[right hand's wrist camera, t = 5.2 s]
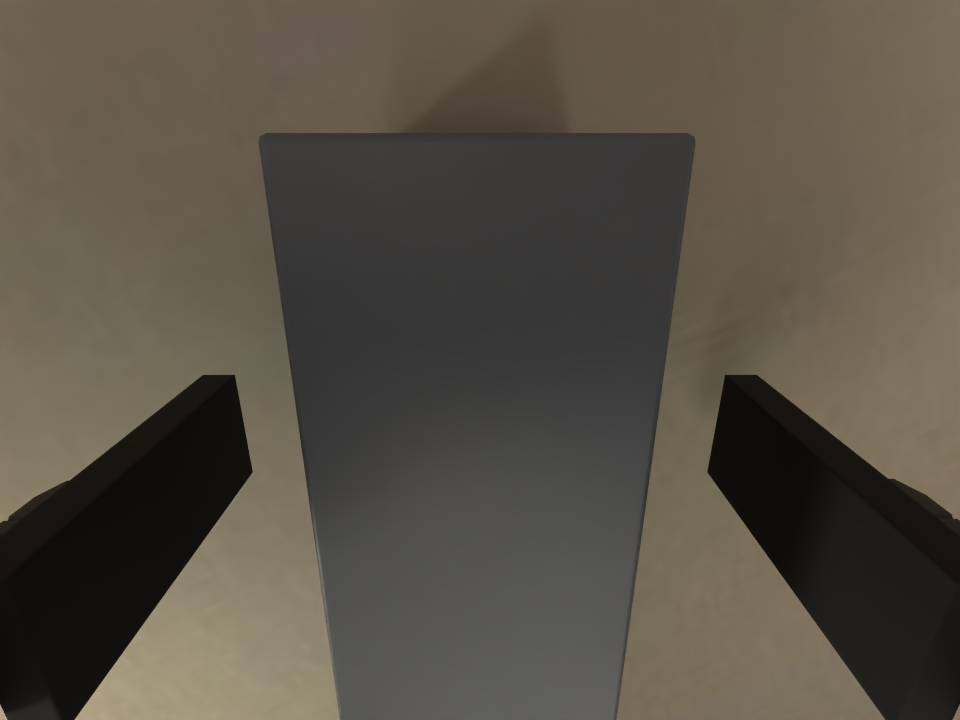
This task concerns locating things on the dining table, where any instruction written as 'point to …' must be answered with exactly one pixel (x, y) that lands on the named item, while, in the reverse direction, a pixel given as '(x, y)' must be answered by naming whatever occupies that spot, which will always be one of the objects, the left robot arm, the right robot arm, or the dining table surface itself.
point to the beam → (477, 404)
